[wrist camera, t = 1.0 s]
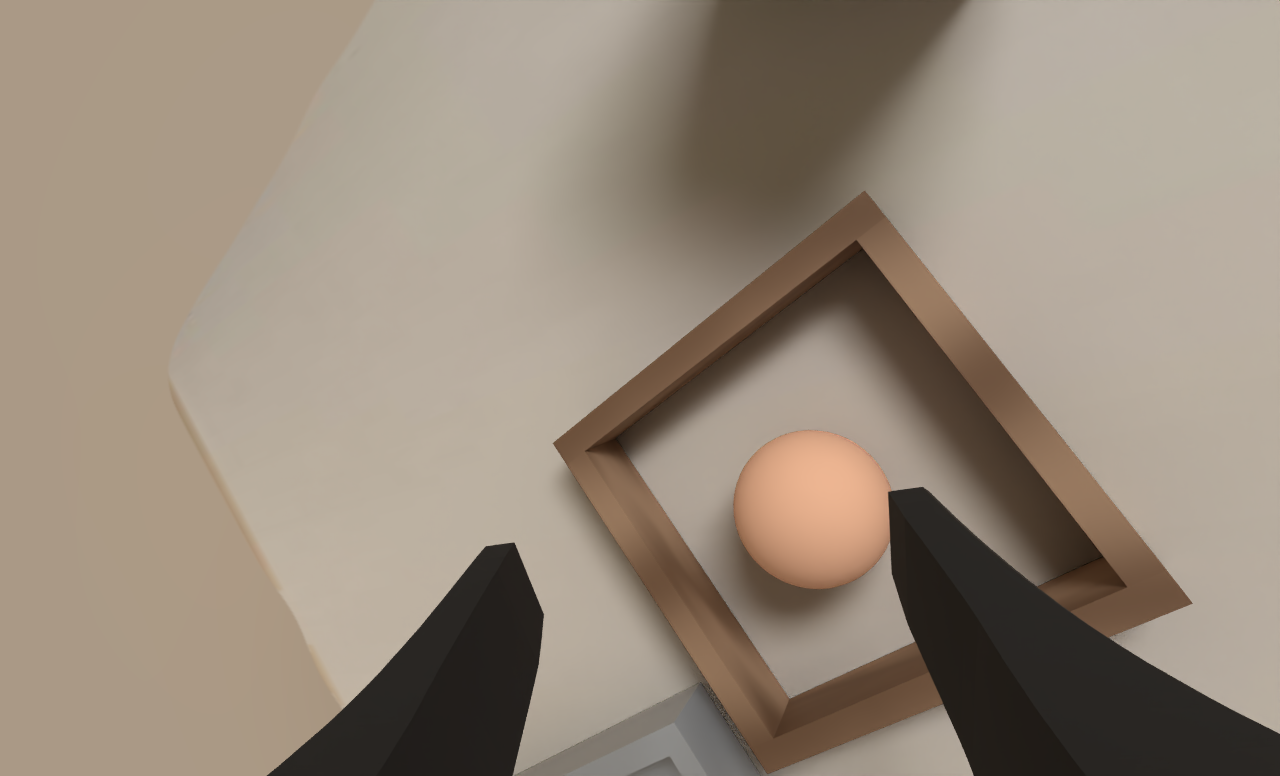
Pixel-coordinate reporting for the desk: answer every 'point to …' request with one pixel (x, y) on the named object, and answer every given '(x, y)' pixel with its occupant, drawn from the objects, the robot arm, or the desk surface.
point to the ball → (813, 509)
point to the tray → (658, 744)
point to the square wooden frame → (753, 698)
